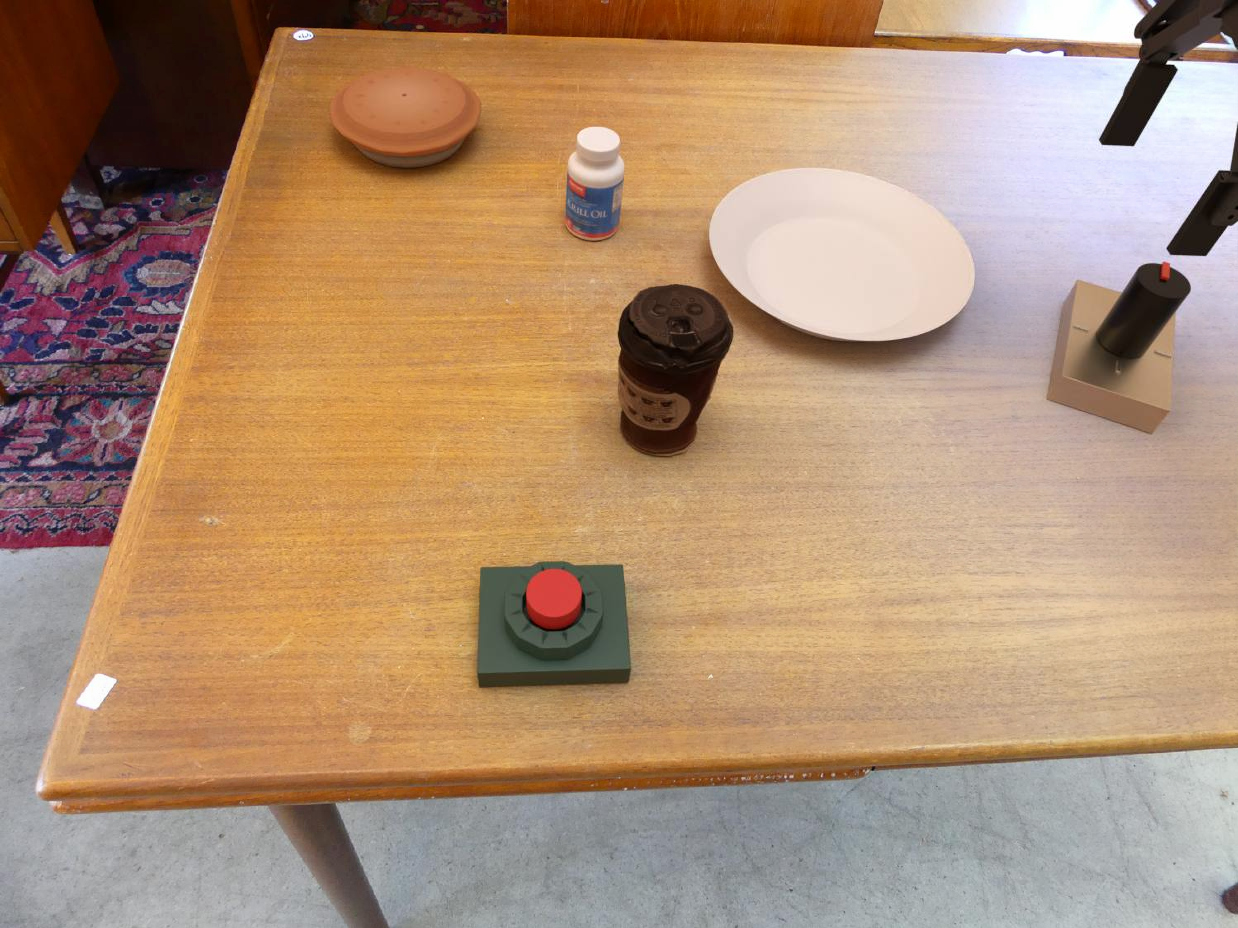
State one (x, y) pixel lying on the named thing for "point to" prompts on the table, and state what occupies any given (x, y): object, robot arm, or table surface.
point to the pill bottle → (594, 184)
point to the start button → (553, 599)
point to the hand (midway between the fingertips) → (1148, 195)
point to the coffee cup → (669, 364)
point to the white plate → (841, 254)
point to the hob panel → (1109, 365)
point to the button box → (552, 630)
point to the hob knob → (1143, 309)
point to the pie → (405, 115)
